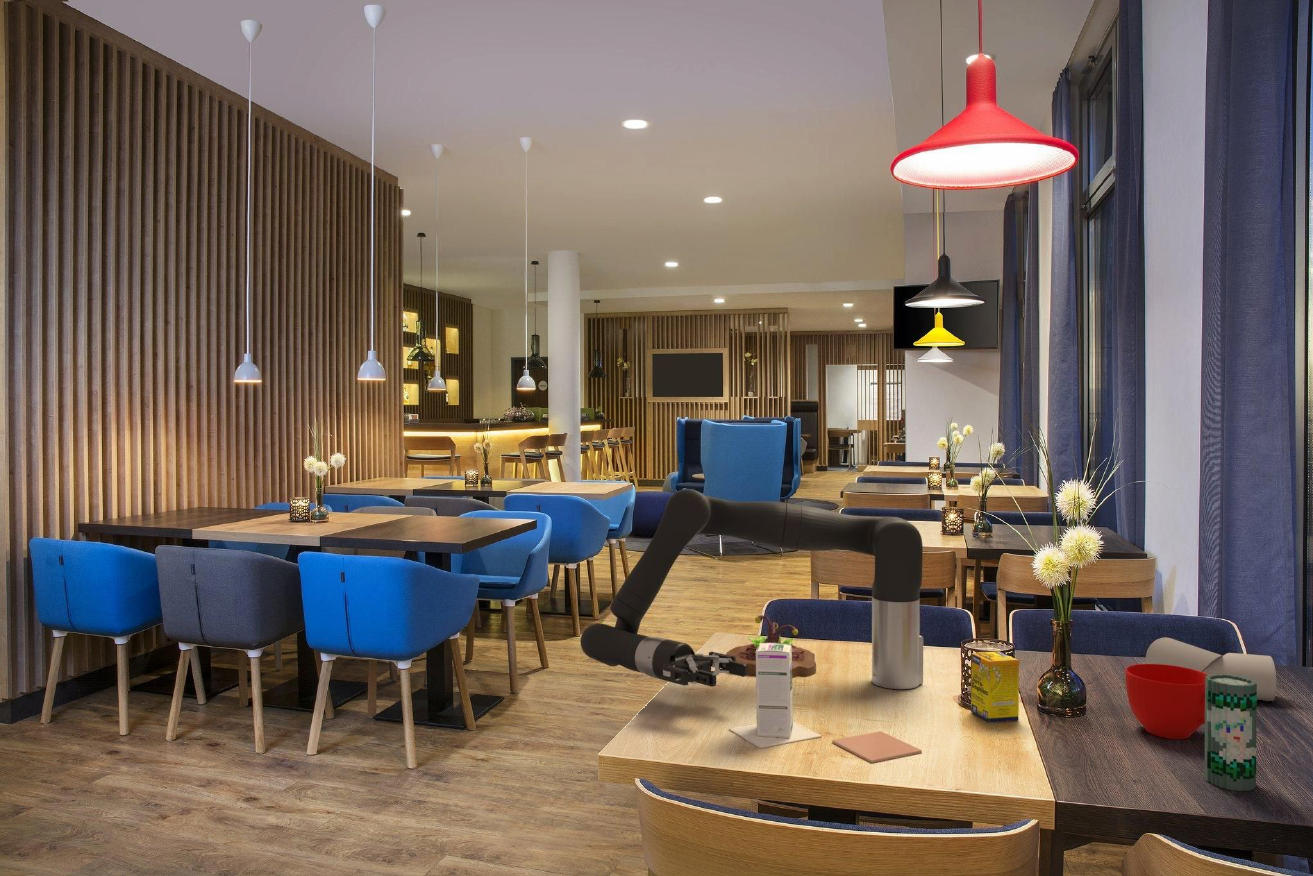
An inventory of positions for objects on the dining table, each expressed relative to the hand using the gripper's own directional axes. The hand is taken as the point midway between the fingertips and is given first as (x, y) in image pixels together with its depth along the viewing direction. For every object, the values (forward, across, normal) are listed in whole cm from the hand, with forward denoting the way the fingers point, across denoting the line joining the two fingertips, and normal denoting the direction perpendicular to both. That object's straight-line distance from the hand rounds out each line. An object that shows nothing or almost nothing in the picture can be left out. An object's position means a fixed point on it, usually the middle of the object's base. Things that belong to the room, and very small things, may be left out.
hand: (730, 675), depth 161 cm
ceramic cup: (+59, +46, +8) cm, 75 cm away
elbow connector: (+55, +79, +9) cm, 97 cm away
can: (+70, +29, +8) cm, 76 cm away
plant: (-17, +34, +8) cm, 39 cm away
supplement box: (+33, +34, +8) cm, 48 cm away
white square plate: (+10, 0, +8) cm, 12 cm away
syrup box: (+10, 0, +8) cm, 12 cm away
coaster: (+26, +6, +8) cm, 27 cm away
